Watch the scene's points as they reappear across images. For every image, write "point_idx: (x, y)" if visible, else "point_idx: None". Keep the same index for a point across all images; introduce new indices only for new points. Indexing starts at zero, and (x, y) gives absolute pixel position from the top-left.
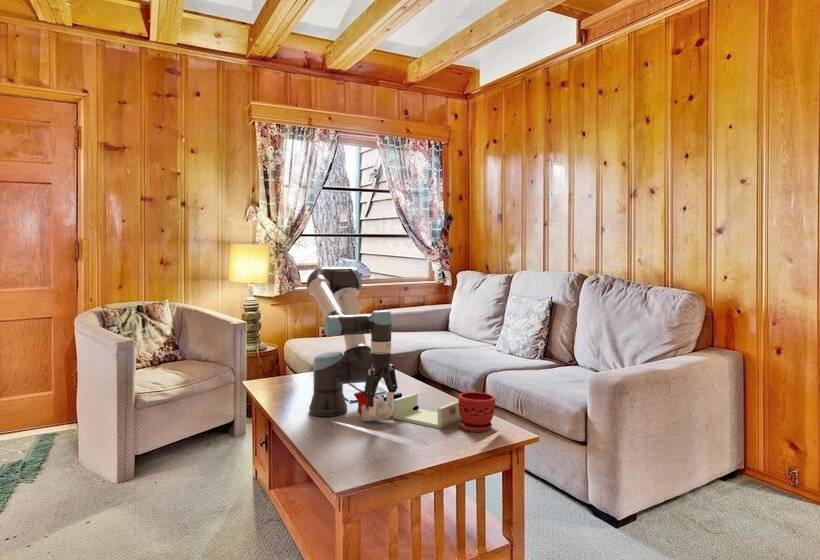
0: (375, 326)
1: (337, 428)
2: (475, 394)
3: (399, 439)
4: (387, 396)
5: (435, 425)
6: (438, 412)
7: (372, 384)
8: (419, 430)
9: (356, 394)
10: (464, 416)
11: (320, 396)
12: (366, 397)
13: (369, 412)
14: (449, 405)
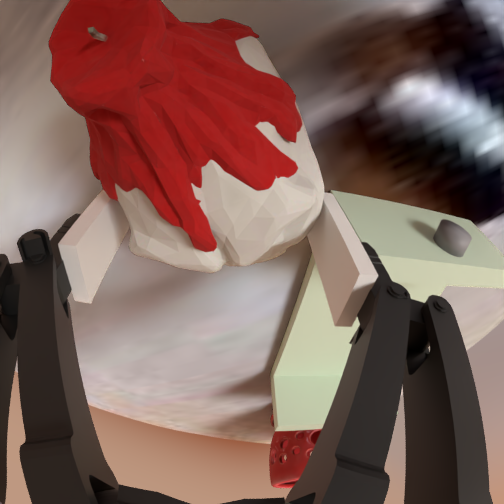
0: None
1: (28, 58)
2: None
3: (103, 330)
4: (343, 254)
5: (275, 368)
6: (275, 414)
7: (5, 404)
8: (219, 343)
9: (50, 44)
10: (275, 439)
11: None
12: (113, 150)
13: None
14: None
